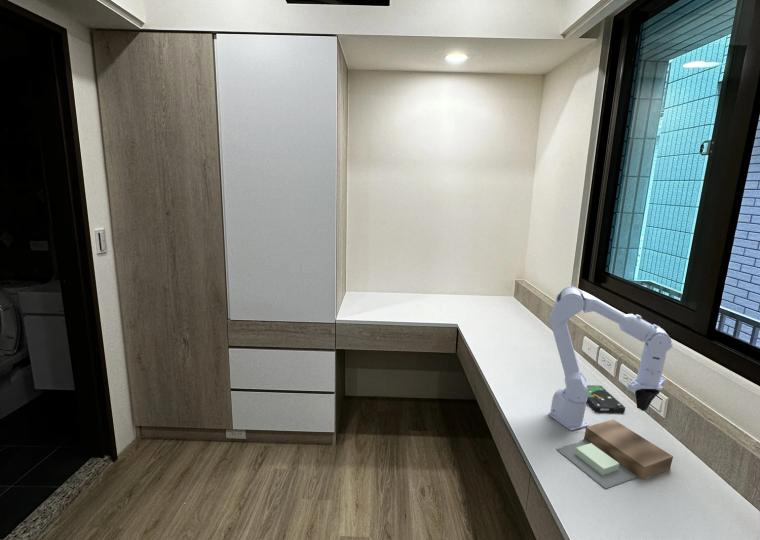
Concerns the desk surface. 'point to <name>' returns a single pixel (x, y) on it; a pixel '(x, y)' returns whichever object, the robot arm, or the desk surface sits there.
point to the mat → (603, 480)
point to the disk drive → (603, 401)
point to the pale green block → (597, 459)
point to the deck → (628, 449)
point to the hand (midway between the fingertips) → (641, 408)
